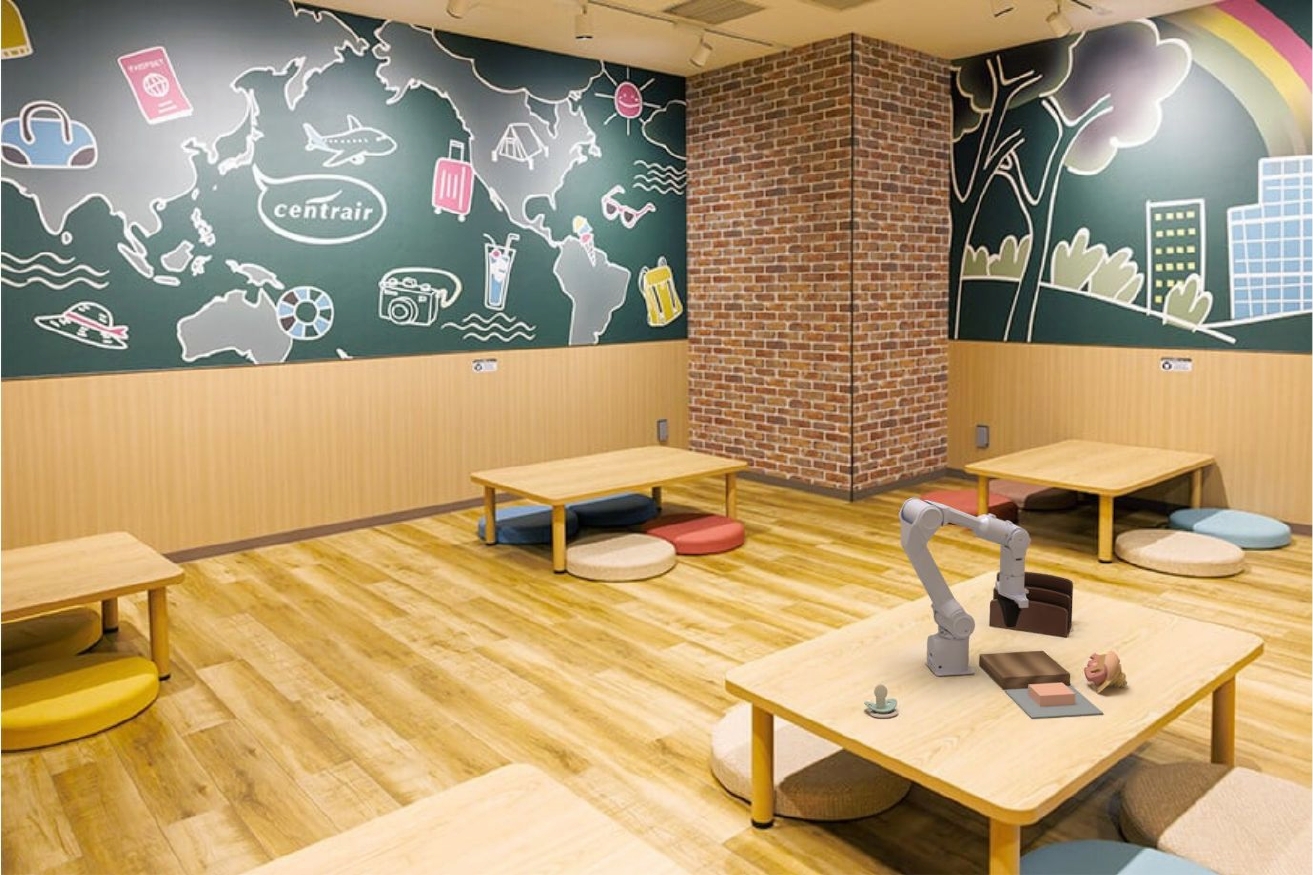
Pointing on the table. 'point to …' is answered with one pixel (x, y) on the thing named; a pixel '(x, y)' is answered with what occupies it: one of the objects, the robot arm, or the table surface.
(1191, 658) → the table surface
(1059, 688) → the tile
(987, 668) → the step
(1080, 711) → the mat
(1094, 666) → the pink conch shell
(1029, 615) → the letter holder
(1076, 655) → the table surface
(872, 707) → the pacifier
